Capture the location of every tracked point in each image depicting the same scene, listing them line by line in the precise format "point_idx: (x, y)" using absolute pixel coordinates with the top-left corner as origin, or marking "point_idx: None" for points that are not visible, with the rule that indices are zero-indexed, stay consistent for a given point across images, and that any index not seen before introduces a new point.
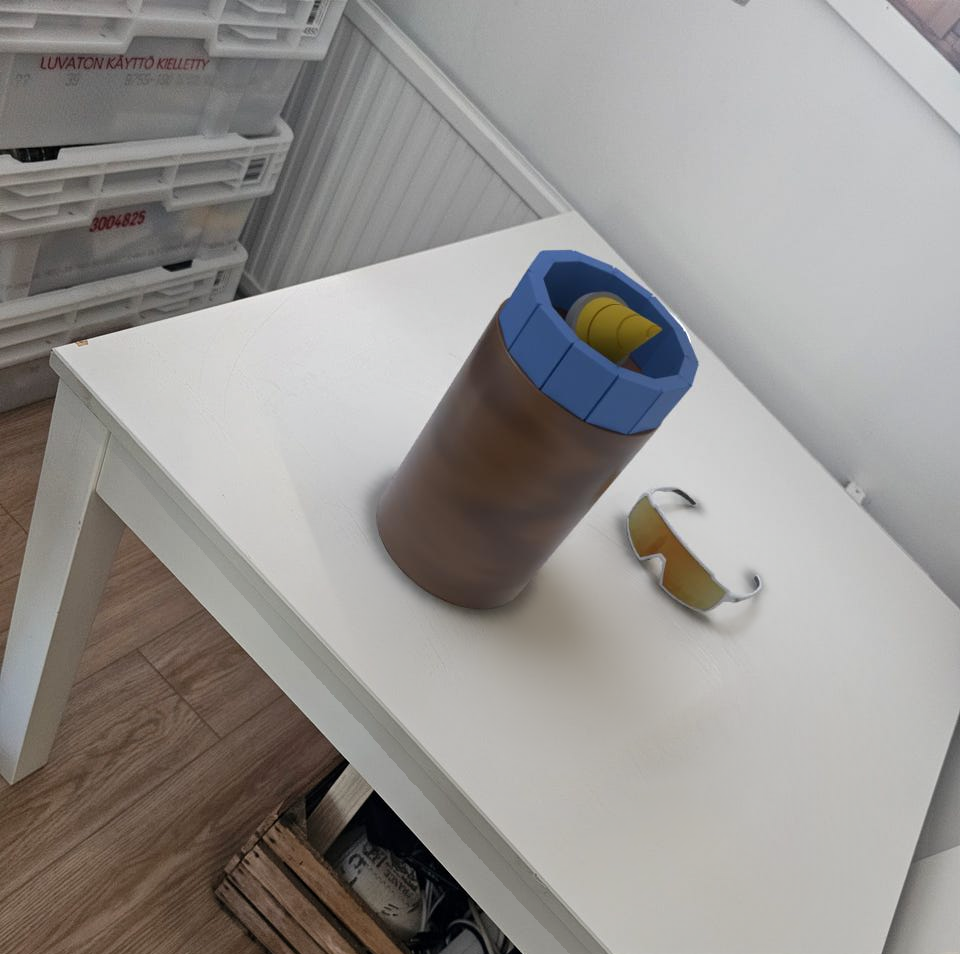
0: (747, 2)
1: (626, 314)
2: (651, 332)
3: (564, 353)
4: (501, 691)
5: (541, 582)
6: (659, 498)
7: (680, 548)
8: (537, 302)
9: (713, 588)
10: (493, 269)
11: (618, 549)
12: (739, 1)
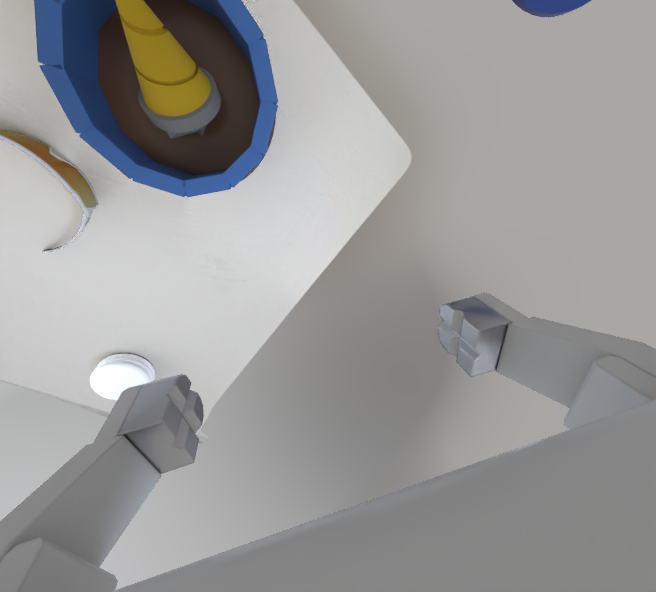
0: (123, 391)
1: (161, 41)
2: None
3: None
4: None
5: None
6: (77, 242)
7: (37, 153)
8: (265, 40)
9: None
10: (231, 361)
11: (97, 171)
12: (146, 384)
